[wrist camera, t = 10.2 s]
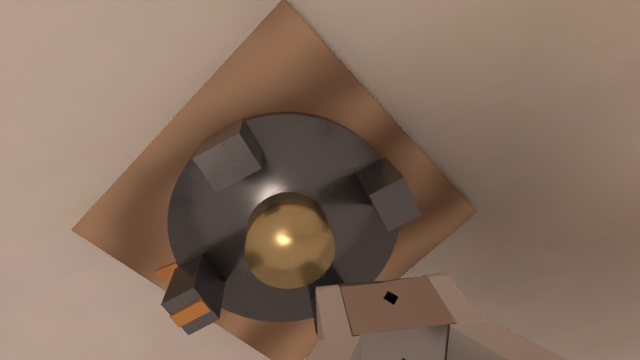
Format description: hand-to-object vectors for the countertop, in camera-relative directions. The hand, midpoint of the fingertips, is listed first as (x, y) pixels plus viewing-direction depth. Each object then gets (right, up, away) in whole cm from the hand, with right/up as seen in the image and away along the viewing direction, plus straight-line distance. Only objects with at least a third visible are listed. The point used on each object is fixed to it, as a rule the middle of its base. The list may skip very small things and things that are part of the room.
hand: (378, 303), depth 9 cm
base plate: (-4, 0, +22) cm, 23 cm away
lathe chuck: (-4, 0, +21) cm, 21 cm away
